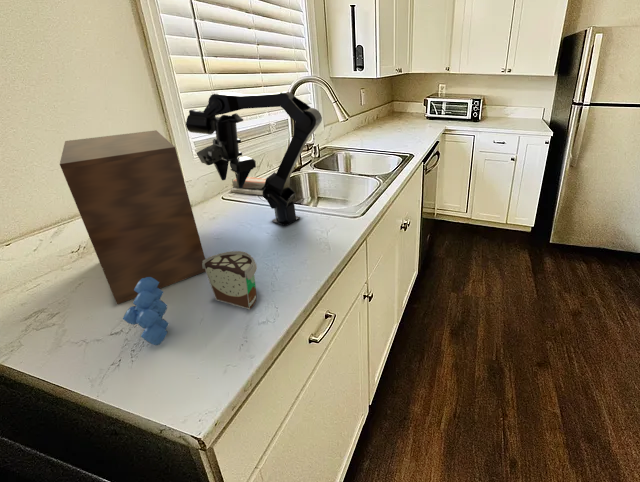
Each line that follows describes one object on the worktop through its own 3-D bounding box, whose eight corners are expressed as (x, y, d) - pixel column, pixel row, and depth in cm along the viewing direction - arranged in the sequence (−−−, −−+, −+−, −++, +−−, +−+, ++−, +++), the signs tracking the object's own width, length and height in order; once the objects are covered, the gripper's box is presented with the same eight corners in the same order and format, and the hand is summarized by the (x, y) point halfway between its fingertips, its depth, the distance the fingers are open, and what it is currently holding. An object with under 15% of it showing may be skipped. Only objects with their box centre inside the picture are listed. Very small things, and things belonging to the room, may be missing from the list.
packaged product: (227, 181, 130) (244, 173, 139) (229, 192, 131) (246, 184, 140) (266, 184, 125) (281, 176, 134) (268, 196, 127) (283, 187, 136)
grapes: (137, 323, 66) (117, 273, 61) (176, 310, 69) (160, 262, 64) (127, 366, 56) (104, 311, 52) (174, 349, 59) (155, 296, 55)
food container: (275, 292, 74) (268, 255, 70) (255, 311, 68) (246, 271, 65) (232, 282, 78) (223, 245, 74) (210, 298, 72) (200, 260, 69)
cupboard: (185, 233, 100) (156, 130, 88) (208, 270, 82) (175, 146, 70) (110, 256, 89) (64, 141, 77) (117, 304, 71) (59, 164, 59)
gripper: (182, 133, 96) (189, 182, 102) (217, 146, 87) (224, 199, 93) (219, 128, 105) (224, 174, 111) (255, 140, 96) (258, 189, 102)
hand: (231, 183), depth 104 cm, fingers open, 9 cm apart
